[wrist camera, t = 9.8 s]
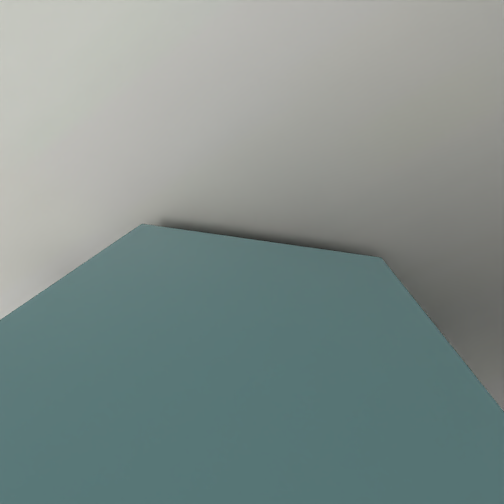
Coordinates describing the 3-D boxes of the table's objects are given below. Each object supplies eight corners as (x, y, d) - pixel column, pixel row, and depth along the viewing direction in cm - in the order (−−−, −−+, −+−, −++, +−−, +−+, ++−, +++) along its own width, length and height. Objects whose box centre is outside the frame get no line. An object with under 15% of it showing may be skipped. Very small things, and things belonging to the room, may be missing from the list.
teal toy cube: (381, 257, 11) (738, 706, 2) (331, 437, 13) (416, 943, 5) (141, 223, 11) (-301, 523, 3) (140, 407, 13) (-79, 842, 5)
